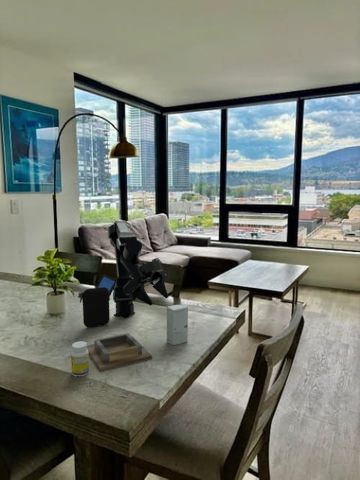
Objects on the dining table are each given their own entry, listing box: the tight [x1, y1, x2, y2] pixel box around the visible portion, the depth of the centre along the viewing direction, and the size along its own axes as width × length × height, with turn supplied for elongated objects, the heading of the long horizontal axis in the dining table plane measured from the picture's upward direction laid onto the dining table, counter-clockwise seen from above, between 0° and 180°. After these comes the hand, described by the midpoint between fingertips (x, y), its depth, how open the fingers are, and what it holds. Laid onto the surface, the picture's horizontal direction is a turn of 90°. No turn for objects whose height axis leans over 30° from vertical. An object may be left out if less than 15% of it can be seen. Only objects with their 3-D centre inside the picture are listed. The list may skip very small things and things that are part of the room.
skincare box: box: [166, 303, 189, 346], centre depth 119 cm, size 6×4×12 cm
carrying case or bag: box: [79, 287, 111, 329], centre depth 132 cm, size 11×3×15 cm, turn 115°
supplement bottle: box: [70, 340, 90, 377], centre depth 99 cm, size 5×5×8 cm
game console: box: [78, 273, 117, 301], centre depth 168 cm, size 16×14×9 cm
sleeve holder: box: [87, 332, 153, 372], centre depth 111 cm, size 16×16×4 cm
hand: (159, 301), depth 122 cm, fingers open, 9 cm apart
